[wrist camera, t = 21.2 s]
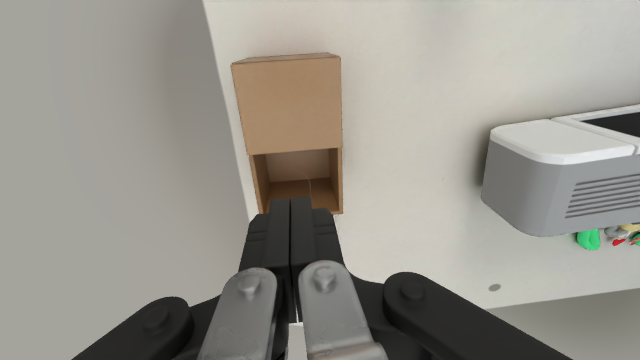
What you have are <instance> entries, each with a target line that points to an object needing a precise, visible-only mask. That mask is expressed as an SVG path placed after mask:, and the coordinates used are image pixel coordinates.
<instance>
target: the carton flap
mask: <svg viewBox="0 0 640 360" xmlns="http://www.w3.org/2000/svg"><path fill="white" fill-rule="evenodd" d="M231 71H232V76H233V81H234V87H235V92H236V98H237V103H238V108H239V114H240V119H241V124H242V130H243V135H244V140H245V146H246V151H247V155H257V154H269V153H281V152H293V151H305V150H317V149H328V148H340V147H342V103H341V58H340V57H337V58H322V59H307V60H292V61H277V62H262V63H247V64H232V65H231Z"/></svg>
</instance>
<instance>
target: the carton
mask: <svg viewBox="0 0 640 360" xmlns="http://www.w3.org/2000/svg"><path fill="white" fill-rule="evenodd" d="M337 57H340V56H337V55H334V54H330V53H316V54H300V55H285V56H269V57H254V58H246V59H243V60H240V61H237V62H234V63H232V64H247V63H262V62H277V61H292V60H307V59H322V58H337ZM292 160H293V161H292ZM249 161H250V166H251V171H252V177H253V182H254V188H255V193H256V199H257V204H258V210H259V214H263V213H269V207H270V201H271V200H273V199H284V198H290V200H291V198H294V197H305V196H310V197H312V198H311V206H312V209H315V208H326V209H327V210H328V211H329V212H330V213H332V214H333V215H336V214H343V186H342V147H340V148H328V149H317V150H305V151H293V152H281V153H269V154H257V155H249ZM293 163H294V164H293ZM294 165H295V166H294ZM296 168H297V169H296ZM300 172H301V173H300ZM302 172H303V173H302ZM306 176H307V177H306ZM309 182H310V183H309ZM310 185H311V187H310ZM310 188H311V189H310ZM310 194H311V195H310ZM312 199H313V200H312ZM314 202H315V203H314ZM320 204H321V205H320ZM319 205H320V206H319Z"/></svg>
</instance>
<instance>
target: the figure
mask: <svg viewBox="0 0 640 360" xmlns="http://www.w3.org/2000/svg"><path fill="white" fill-rule="evenodd" d="M618 227H619V228H620V229H617V228H618ZM633 231H639V232H640V222H636V223H630V224H624V225H618V226H612V227H606V228H605V229H604V232H605V234H606V235H608V236H617V237H618V238H620V237H628V236H629V235H630V234H631V232H633ZM625 240H626V239H621V240H618V239H616V240H614V241H613V243H612V244H613V246H616V245H618V244H620V243H622V242H623V241H625ZM577 242H578V243H579V245H580V246H582V247H584V248H586V249H589V250H597V249H598V248H599V247H600V237H599V232H598V229H593V230H587V231H581V232H578V234H577ZM630 242H633V243H631V245H633V244H636V245H640V234H638V235H636V236H635V237H634V238H633V239H632V241H630ZM629 245H630V244H629Z"/></svg>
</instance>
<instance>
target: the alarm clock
mask: <svg viewBox="0 0 640 360" xmlns="http://www.w3.org/2000/svg"><path fill="white" fill-rule="evenodd" d="M481 199H482V201H483V202H484V203H485V204H486V205H488V206H489V207H490V208H491V209H492V210H494V211H495V212H496V213H497V214H498V215H500V216H501V217H502V218H503V219H504V220H506V221H507V222H508V223H509V224H510V225H512V226H513V227H514V228H516V229H517V230H519V231H521V232H523V233H526V234H529V235H532V236H538V237H550V236H556V235H563V234H569V233H575V232H581V231H587V230H593V229H599V228H606V227H612V226H618V225H624V224H630V223H636V222H640V105H633V106H627V107H620V108H614V109H607V110H601V111H594V112H587V113H581V114H574V115H568V116H561V117H555V118H552V119H551V120H548V119H542V120H535V121H528V122H522V123H515V124H509V125H502V126H498V127H496V128H494V129H492V130H491V134H490V140H489V147H488V153H487V159H486V166H485V172H484V179H483V185H482V191H481Z"/></svg>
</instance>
